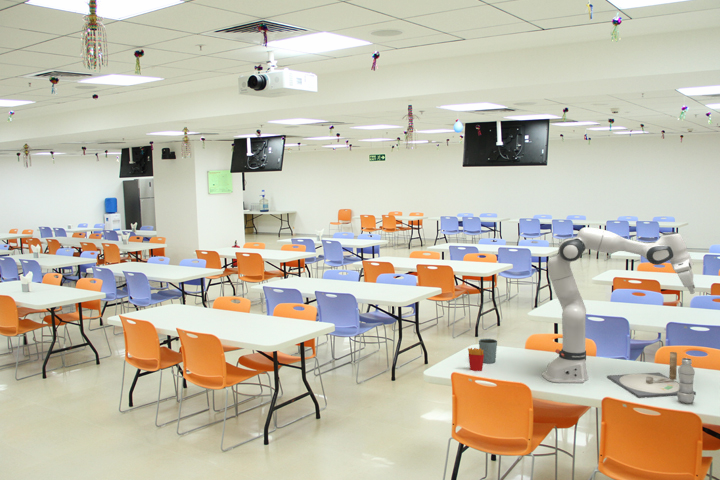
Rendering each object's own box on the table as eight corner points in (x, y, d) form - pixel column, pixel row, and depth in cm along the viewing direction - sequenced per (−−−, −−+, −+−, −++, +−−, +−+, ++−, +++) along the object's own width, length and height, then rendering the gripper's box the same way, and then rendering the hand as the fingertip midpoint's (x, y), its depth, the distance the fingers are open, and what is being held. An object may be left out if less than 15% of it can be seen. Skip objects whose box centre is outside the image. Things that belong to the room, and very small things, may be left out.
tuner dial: (638, 398, 263) (638, 394, 263) (607, 377, 291) (607, 374, 291) (695, 394, 265) (695, 391, 265) (659, 374, 293) (659, 371, 293)
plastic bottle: (692, 406, 252) (693, 362, 250) (675, 402, 257) (676, 359, 255) (695, 401, 257) (697, 358, 255) (678, 398, 261) (680, 356, 259)
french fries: (484, 369, 309) (484, 347, 307) (483, 371, 305) (483, 349, 304) (468, 367, 312) (468, 346, 310) (467, 370, 308) (467, 348, 307)
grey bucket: (476, 362, 321) (475, 341, 320) (483, 357, 329) (483, 337, 328) (493, 365, 315) (493, 344, 314) (499, 360, 323) (499, 339, 322)
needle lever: (648, 383, 276) (649, 355, 275) (644, 381, 279) (645, 353, 278) (677, 381, 278) (678, 353, 276) (673, 379, 281) (674, 351, 279)
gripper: (675, 261, 282) (686, 287, 282) (674, 270, 265) (685, 298, 265) (689, 257, 279) (700, 283, 279) (688, 266, 262) (700, 294, 262)
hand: (693, 290), depth 272 cm, fingers open, 8 cm apart
